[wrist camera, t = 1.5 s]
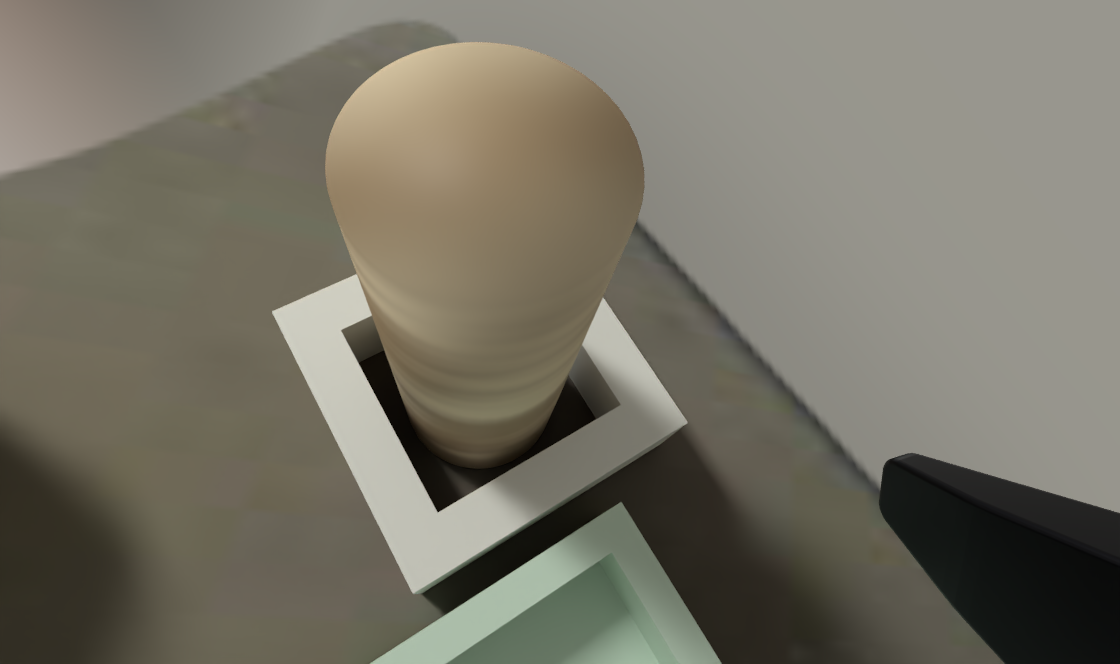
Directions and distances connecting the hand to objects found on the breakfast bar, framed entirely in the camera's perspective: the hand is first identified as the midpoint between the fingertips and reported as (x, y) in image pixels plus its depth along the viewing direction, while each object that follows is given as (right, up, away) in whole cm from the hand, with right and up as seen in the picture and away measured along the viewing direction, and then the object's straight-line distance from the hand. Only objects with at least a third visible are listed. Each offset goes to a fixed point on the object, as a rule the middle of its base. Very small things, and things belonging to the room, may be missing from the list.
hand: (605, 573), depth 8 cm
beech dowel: (-3, +1, +13) cm, 14 cm away
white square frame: (-3, +1, +13) cm, 14 cm away
